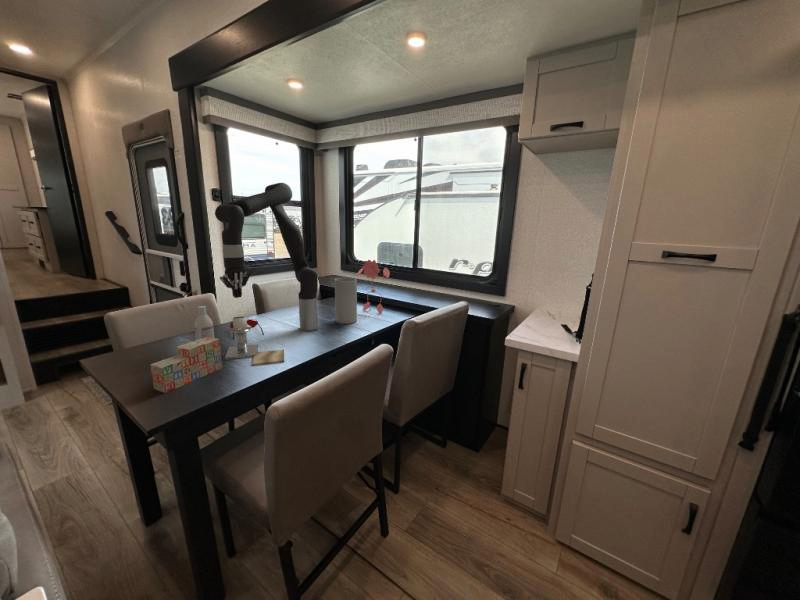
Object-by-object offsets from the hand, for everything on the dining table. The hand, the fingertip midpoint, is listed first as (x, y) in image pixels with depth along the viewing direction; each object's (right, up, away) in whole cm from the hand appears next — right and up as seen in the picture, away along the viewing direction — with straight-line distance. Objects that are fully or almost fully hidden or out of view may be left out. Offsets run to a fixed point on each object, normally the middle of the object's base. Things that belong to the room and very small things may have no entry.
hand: (237, 297), depth 132 cm
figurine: (+49, -10, +72) cm, 87 cm away
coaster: (+13, -26, +1) cm, 29 cm away
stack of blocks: (-8, -30, -17) cm, 35 cm away
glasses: (-11, -18, +31) cm, 38 cm away
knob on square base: (-1, -24, +6) cm, 25 cm away
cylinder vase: (+36, -14, +55) cm, 67 cm away
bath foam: (-17, -24, +7) cm, 30 cm away
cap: (0, -14, +3) cm, 14 cm away
